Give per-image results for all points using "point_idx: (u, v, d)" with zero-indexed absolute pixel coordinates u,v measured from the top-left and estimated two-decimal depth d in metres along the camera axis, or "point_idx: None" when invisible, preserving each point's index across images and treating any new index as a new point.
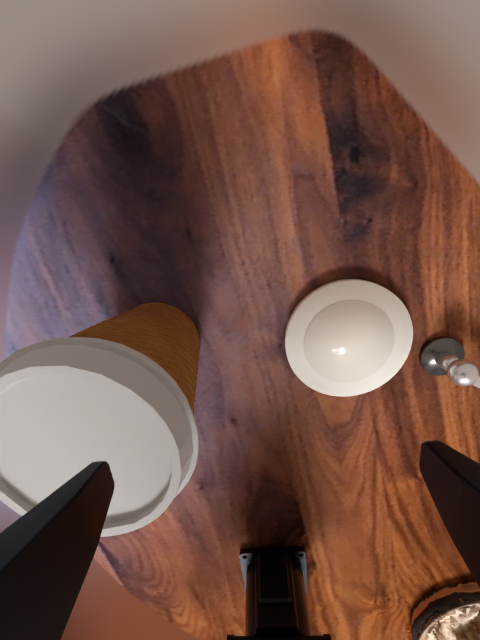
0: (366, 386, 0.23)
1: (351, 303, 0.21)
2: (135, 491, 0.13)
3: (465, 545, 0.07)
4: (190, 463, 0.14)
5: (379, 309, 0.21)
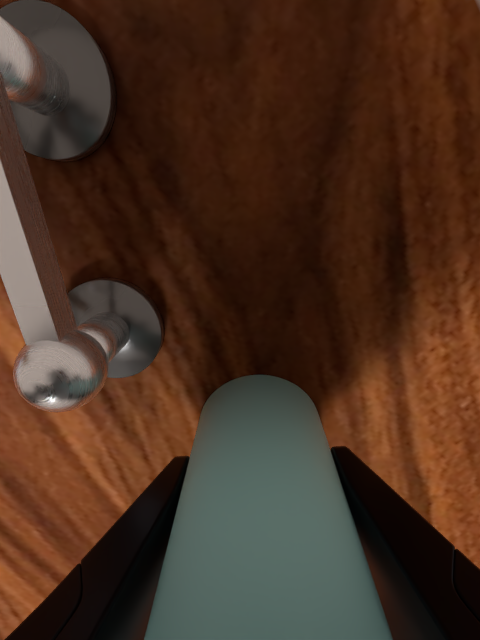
0: None
1: None
2: None
3: None
4: None
5: None
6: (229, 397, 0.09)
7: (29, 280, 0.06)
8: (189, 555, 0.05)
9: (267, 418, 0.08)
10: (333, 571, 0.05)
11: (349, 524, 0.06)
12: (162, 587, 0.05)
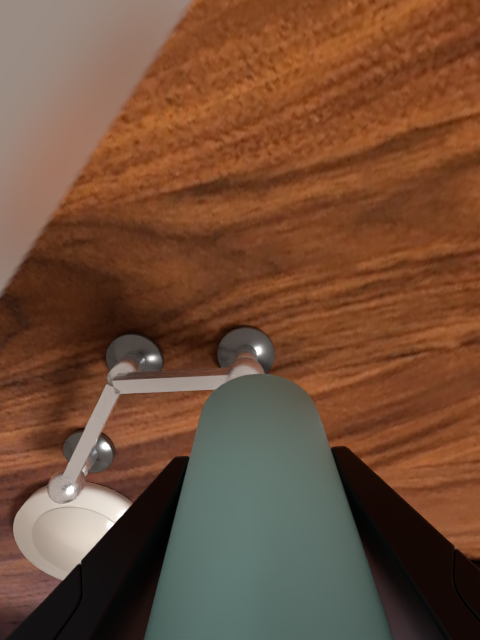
0: None
1: (36, 542, 0.21)
2: None
3: None
4: None
5: (37, 521, 0.20)
6: (229, 396, 0.09)
7: (199, 380, 0.14)
8: (189, 554, 0.05)
9: (266, 417, 0.08)
10: (333, 569, 0.05)
11: (349, 523, 0.06)
12: (162, 586, 0.05)
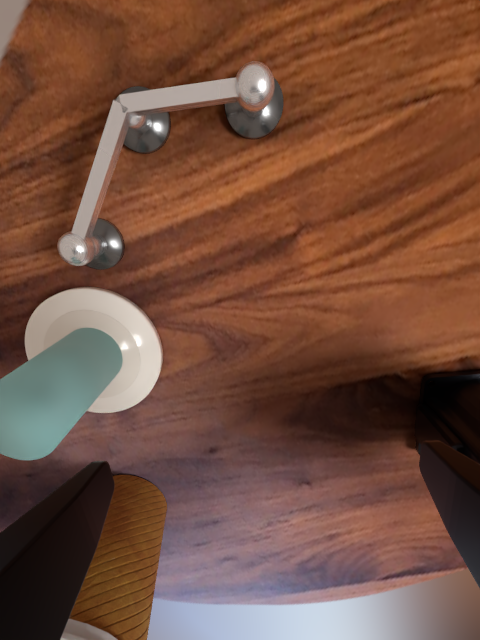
0: (142, 331, 0.20)
1: None
2: None
3: (465, 545, 0.07)
4: None
5: (49, 330, 0.20)
6: (65, 336, 0.19)
7: (207, 86, 0.13)
8: None
9: (69, 340, 0.18)
10: (49, 372, 0.15)
11: (77, 371, 0.16)
12: None
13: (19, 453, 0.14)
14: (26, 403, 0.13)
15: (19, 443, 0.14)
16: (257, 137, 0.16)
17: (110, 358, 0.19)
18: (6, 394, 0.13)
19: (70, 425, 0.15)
